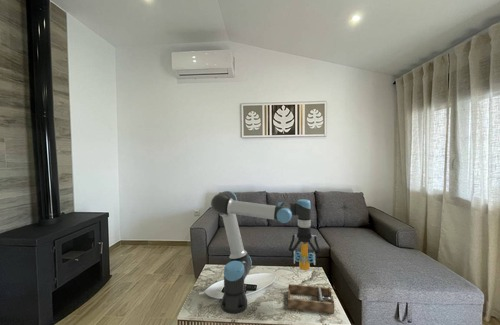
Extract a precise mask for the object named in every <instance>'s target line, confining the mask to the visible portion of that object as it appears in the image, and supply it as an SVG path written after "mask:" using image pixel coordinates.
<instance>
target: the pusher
mask: <svg viewBox="0 0 500 325" xmlns="http://www.w3.org/2000/svg"><path fill="white" fill-rule="evenodd" d="M317 287H318V301H319V302H324V300H328V301H329V300H331V298H329V297H327V296H322V293H321V288H320V287H321V286H317Z"/></svg>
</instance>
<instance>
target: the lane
mask: <svg viewBox="0 0 500 325" xmlns="http://www.w3.org/2000/svg"><path fill="white" fill-rule="evenodd" d="M318 287H320V288H321V293H322V297H329V298H331V300H328V301H329V302H327V301H326V302H325V301H323V302H319V300H318V301H317V300H308V299H301V298H300V299H297V298H291V294H296V295H297V294H298V295H307V296H318ZM287 293H288V294H287V296H288V298H287V308H288V309H295V310H303V311H311V312H321V313H329V314H335V300H334V297H333V295H332V289H331V286H328V287H325V286H324V287H323V286H312V285H304V284H303V285H302V284H292V283H288V292H287ZM318 297H319V296H318Z"/></svg>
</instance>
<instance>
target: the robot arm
mask: <svg viewBox="0 0 500 325" xmlns="http://www.w3.org/2000/svg"><path fill="white" fill-rule="evenodd" d="M210 206H211V209H212V210H213V212H215V213H217V214H219V216H220V217H222V221H223V225H224V229H225V233H226V238H227V242H228V247H229V250H230V255H229V256H228V257H229V262H228V263H226V264H225V266H224V268H223V280H224V281H223V289H224V291H223V295H222V298H221V304H220V305H221V306H220V307H221V310H222V311H223V312H225V313H227V314H229V315H230V314H231V315H232V314H233V315H236V314H240V313H242V312H244V311H245V310H247V308H248V298H247V295H246V292H245V279H246V278H247V276H248V274H249V272H250V270H252V266H253V265H252V262H253V261H252V259H251V256H250V255H249V254H248V252H247V250H245V247H244V244H243V240H242V236H241V230H240V227H239V223H238V218H237V215H240V216H246V217H251V218H252V217H254V218H261V219H267V220H276V221H279V222H280V223H282V224H287V223H288V222H290V220H291V219H292V218H293V217H297V234H295V233H292V234H291V236H292V239H291V241H290V244H289V246H288V251H289V252H291V257H292V258H293V264H296V260H295V253H296V250H297V248H298V246H299V245H300V244H301V242H306V243H308V245H309V246H310V247H311V249H312V251H313V255H314V257H313V258H314V262H313V265H314V266H316V260H317V259H318V253H319V254H320V253H321V249H320V248H321V247H320V246H319V243H318V241H317V235H316V234H314V235H313V234H312V229H311V228H312V227H311V225H312V222H311V221H312V220H311V218H312V217H311V216H312V215H311V214H312V212H311V208H312V207H311V201H310V199H305V198H304V199H301V198H300V199H298V200H297V202H284V201H281V202H278V203H277V205H274V204H273V205H272V204H264V203H255V202H249V201H248V202H247V201H241V200H238V198H237V196H236V194H235V193H234V192H233V191H229V190H227V191H226V190H225V191H222V192H219V193H217V194H216V195H214V196H213V197H212V198H211V200H210ZM296 238H297V240H296ZM311 239H312V240H313V241H314V244H315V245H314V244H313V243H312V241H311ZM295 240H296V242H295ZM294 242H295V243H294ZM293 244H294V245H293ZM315 246H316V247H315Z"/></svg>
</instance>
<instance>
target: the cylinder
mask: <svg viewBox="0 0 500 325" xmlns="http://www.w3.org/2000/svg"><path fill="white" fill-rule="evenodd" d="M308 249H309V243H308V242H307V243H306V242H300V251H295V262H298V263H299V265H298V266H299V269H301V270H302V271H308V270H310V268H311V266H310V264H312V263H313V264H314V252H309V251H308ZM311 260H312V261H311Z"/></svg>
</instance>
